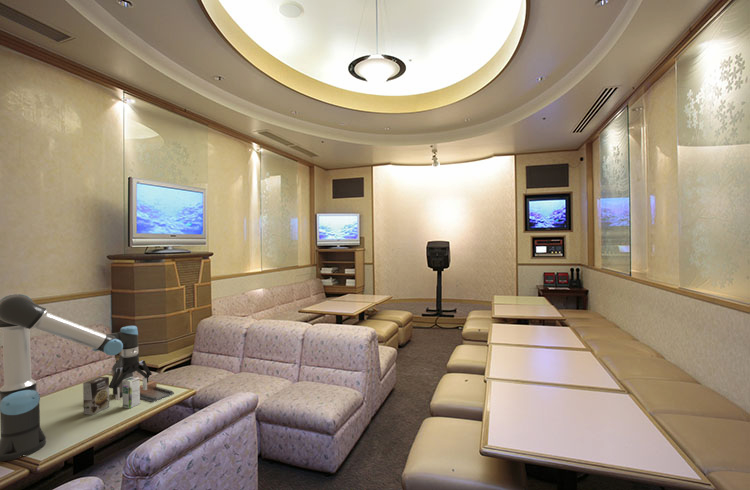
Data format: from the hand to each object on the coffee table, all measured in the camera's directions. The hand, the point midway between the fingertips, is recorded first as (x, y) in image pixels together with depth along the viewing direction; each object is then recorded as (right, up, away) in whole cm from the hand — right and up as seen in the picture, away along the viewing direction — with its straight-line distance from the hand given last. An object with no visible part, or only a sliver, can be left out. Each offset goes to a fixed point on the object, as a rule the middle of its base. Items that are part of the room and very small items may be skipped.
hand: (131, 394), depth 187 cm
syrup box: (0, -6, 0) cm, 6 cm away
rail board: (+4, -6, +12) cm, 14 cm away
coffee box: (-15, -6, -5) cm, 17 cm away
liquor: (-15, -6, +16) cm, 23 cm away
